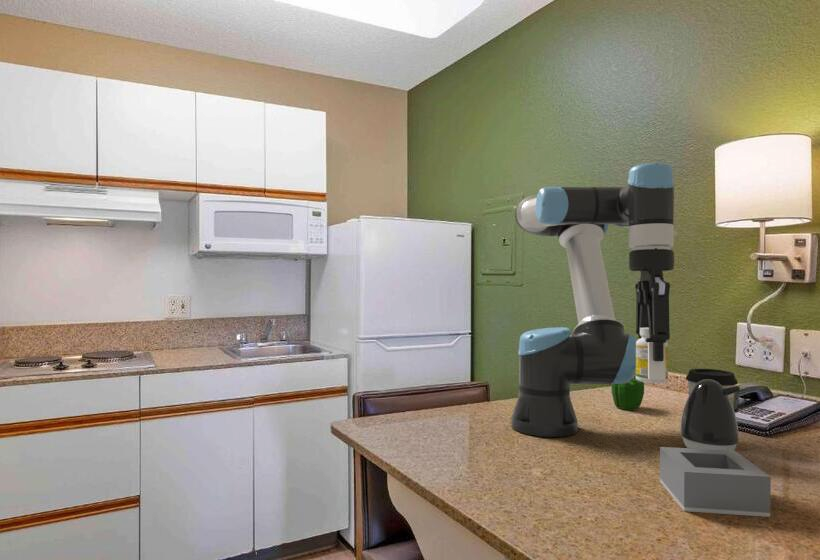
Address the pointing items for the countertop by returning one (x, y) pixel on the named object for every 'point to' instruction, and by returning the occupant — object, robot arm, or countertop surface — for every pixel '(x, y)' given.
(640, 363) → the supplement bottle
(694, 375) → the coffee cup
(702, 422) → the pump dispenser
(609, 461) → the countertop surface
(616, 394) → the bell pepper
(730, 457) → the well
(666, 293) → the robot arm
